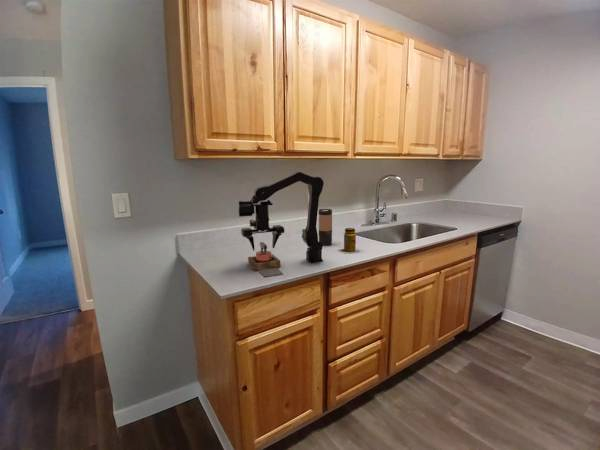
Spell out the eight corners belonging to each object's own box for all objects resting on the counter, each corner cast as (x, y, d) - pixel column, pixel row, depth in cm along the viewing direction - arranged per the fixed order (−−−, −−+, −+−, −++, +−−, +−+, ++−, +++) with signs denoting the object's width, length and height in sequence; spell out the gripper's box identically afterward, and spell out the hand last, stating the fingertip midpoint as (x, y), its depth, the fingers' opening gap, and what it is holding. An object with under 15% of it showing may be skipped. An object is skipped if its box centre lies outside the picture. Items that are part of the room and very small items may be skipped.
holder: (272, 260, 151) (272, 254, 150) (280, 267, 140) (280, 261, 139) (248, 263, 146) (248, 257, 146) (254, 271, 135) (254, 264, 135)
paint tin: (269, 262, 148) (268, 241, 146) (273, 266, 141) (272, 244, 139) (254, 264, 145) (253, 242, 143) (258, 268, 139) (257, 246, 137)
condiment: (358, 251, 163) (359, 229, 161) (345, 253, 159) (345, 230, 157) (350, 248, 169) (351, 226, 167) (337, 250, 166) (337, 228, 164)
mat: (277, 268, 138) (277, 267, 138) (283, 274, 131) (283, 273, 131) (258, 271, 135) (258, 270, 135) (263, 277, 128) (263, 276, 128)
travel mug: (331, 242, 182) (331, 208, 178) (332, 246, 175) (333, 210, 171) (318, 242, 182) (317, 209, 178) (319, 246, 174) (319, 211, 170)
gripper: (276, 211, 149) (277, 243, 152) (237, 214, 143) (239, 247, 146) (284, 214, 139) (285, 248, 142) (242, 218, 132) (244, 253, 135)
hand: (263, 249), depth 142 cm, fingers open, 9 cm apart
